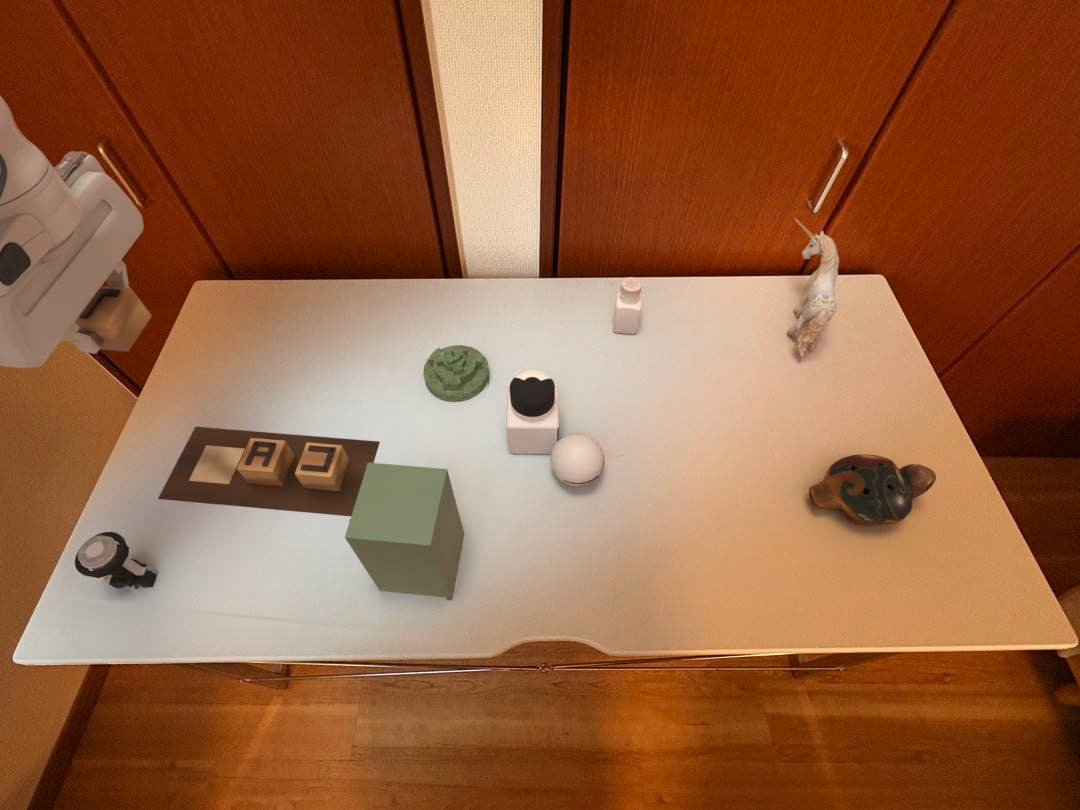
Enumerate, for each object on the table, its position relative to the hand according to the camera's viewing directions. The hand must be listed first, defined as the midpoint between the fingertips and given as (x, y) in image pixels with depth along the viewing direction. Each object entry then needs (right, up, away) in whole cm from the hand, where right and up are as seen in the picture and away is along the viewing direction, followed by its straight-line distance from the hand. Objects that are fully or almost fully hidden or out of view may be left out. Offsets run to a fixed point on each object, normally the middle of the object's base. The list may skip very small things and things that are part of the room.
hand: (110, 324), depth 62 cm
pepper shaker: (+58, +5, +41) cm, 71 cm away
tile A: (+6, -17, +24) cm, 30 cm away
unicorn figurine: (+85, +6, +41) cm, 95 cm away
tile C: (+14, -18, +23) cm, 33 cm away
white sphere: (+50, -18, +24) cm, 58 cm away
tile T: (0, -1, +1) cm, 1 cm away
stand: (+29, -28, +17) cm, 44 cm away
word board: (+6, -18, +25) cm, 31 cm away
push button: (-8, -31, +16) cm, 35 cm away
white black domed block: (+43, -13, +28) cm, 53 cm away
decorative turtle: (+87, -22, +21) cm, 92 cm away
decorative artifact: (+31, -4, +35) cm, 46 cm away
